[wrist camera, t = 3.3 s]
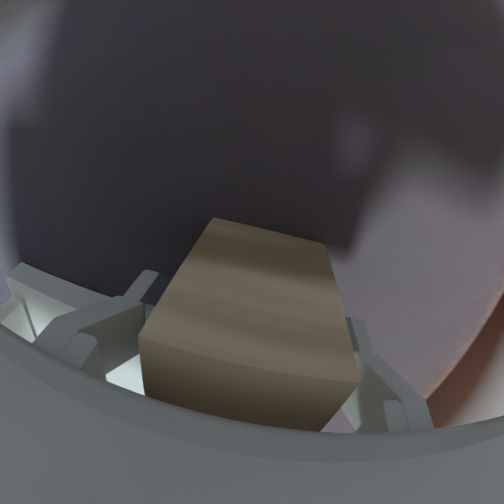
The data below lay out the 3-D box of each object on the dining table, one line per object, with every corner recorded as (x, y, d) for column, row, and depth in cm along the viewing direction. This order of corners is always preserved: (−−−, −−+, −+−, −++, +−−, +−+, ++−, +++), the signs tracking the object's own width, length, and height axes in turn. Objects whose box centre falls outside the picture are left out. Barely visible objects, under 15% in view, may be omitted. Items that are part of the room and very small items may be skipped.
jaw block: (213, 217, 10) (138, 335, 4) (324, 244, 10) (360, 382, 4) (199, 306, 12) (150, 430, 6) (292, 327, 12) (291, 460, 6)
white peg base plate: (21, 262, 12) (-23, 299, 8) (219, 329, 12) (198, 403, 8) (80, 416, 20) (65, 446, 16) (195, 459, 20) (186, 495, 17)
